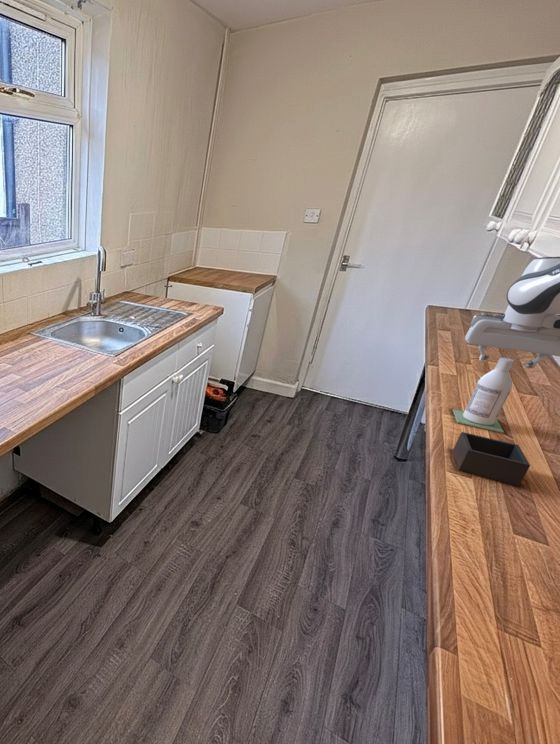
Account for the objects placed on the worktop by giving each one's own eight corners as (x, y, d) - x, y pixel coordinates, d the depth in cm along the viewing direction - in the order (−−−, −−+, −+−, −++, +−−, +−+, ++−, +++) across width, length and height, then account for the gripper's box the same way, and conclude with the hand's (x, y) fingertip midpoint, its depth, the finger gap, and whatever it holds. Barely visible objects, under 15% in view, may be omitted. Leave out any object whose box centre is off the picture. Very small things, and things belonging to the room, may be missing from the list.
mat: (495, 419, 127) (496, 418, 126) (503, 433, 119) (504, 432, 119) (452, 410, 132) (453, 408, 132) (457, 422, 125) (457, 421, 124)
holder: (507, 464, 105) (518, 444, 103) (518, 486, 97) (530, 465, 95) (452, 450, 111) (461, 431, 109) (458, 470, 103) (468, 450, 101)
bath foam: (478, 414, 128) (507, 355, 120) (500, 426, 122) (532, 363, 114) (456, 414, 129) (483, 354, 121) (476, 425, 122) (506, 363, 114)
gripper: (477, 313, 116) (458, 359, 121) (587, 325, 105) (561, 375, 110) (473, 309, 120) (455, 353, 126) (578, 320, 109) (553, 368, 115)
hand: (505, 363), depth 118 cm, fingers open, 8 cm apart
